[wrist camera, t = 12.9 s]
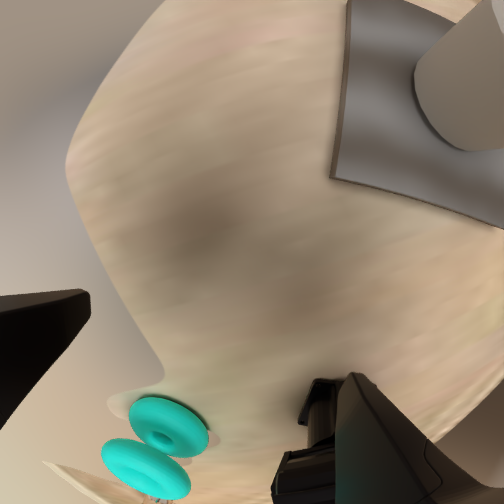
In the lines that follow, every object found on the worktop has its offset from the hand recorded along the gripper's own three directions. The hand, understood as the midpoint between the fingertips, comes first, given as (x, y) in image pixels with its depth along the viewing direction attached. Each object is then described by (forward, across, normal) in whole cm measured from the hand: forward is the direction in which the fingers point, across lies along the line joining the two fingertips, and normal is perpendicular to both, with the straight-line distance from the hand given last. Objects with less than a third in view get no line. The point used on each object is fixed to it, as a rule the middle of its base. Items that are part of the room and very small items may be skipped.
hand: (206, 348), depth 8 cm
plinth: (+13, -11, -15) cm, 23 cm away
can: (+10, -11, -14) cm, 21 cm away
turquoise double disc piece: (+13, +5, +24) cm, 28 cm away
